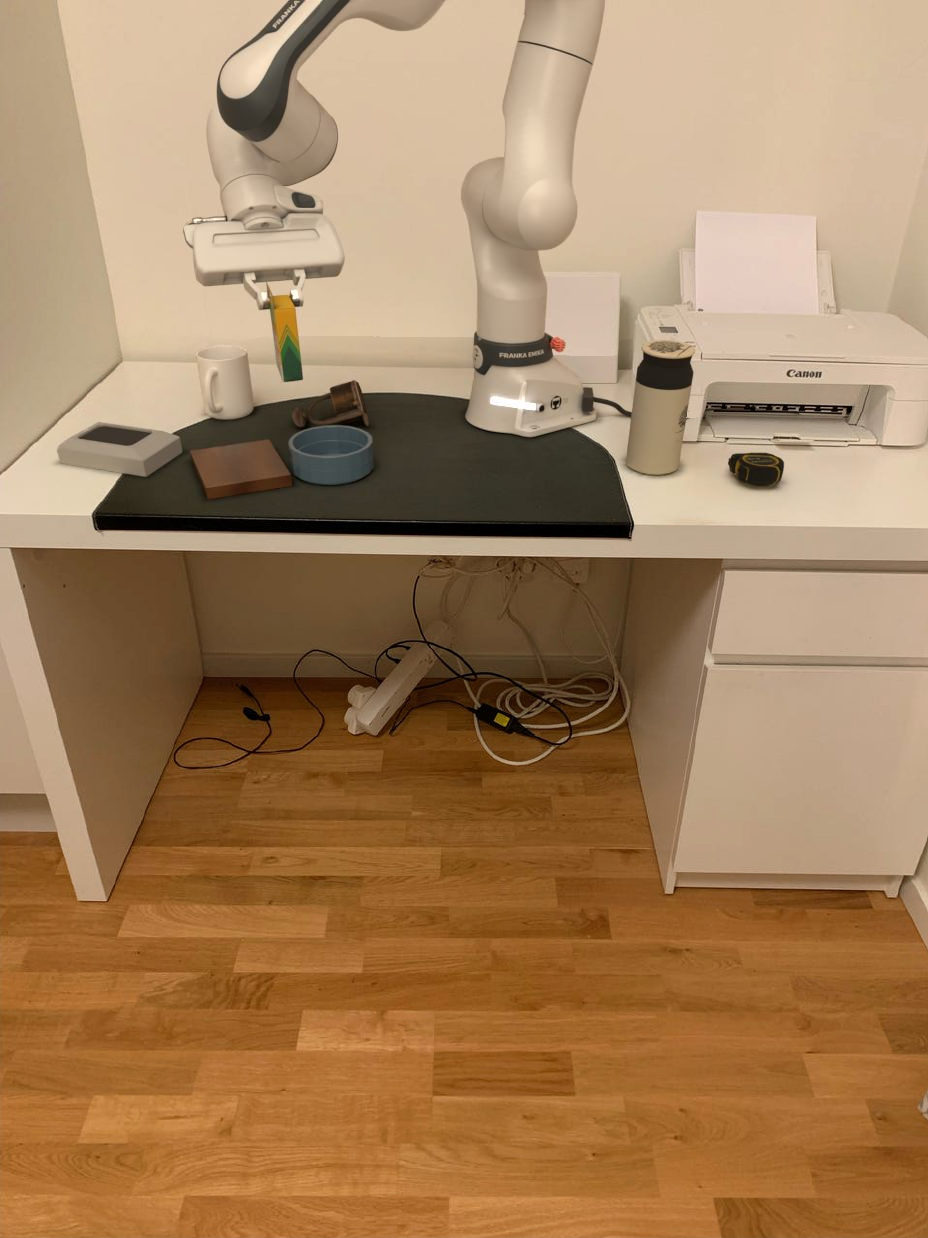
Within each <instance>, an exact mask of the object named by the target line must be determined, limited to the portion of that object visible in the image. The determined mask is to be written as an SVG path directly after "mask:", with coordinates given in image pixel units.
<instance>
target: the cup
mask: <svg viewBox="0 0 928 1238" xmlns="http://www.w3.org/2000/svg"><path fill="white" fill-rule="evenodd" d="M195 359H196V364H197V371H198V379H199V384H200V389H201V395H202V402H203V407H204V411H205V413H206V415H207V416H208V417H211V418H212V419H216V420H236V419H242V418H244V417H248V416H249V415H251V414H252V413H253V411H254V409H255V401H254V395H253V386H252V378H251V370H250V361H249V355H248V350H247V349H246V348H244V347H242V346H238V345H234V344H233V345H232V344H222V345H219V344H218V345H211V346H207V347H204V348H201V349H199V350H198V351H197V352H196V353H195Z"/></svg>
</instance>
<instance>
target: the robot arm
mask: <svg viewBox="0 0 928 1238" xmlns="http://www.w3.org/2000/svg"><path fill="white" fill-rule="evenodd" d="M445 2H446V0H288V1H286V3H285V4H283V6H282V7H281V8H280V9H279V10H278V11H277V12H276V13H275V14H274V16H273V17H272V18H271V19H270V20H269V22H267V23H266V25H264V27H263V28H262V29H260V31H259V32H258V33H257V34H256V35H255V36H253V37H252V38H251V39H250V40H248V41H247V42H246V43H244V44H243V45H242V46H240V47H239V48H238V49H237V50H235V51H234V52H232V54H230V55H229V57H227V59H226V60H225V61H224V63H223V64H222V65H221V68H220V70H219V72H218V76H217V81H216V102H215V104H214V105H213V106H212V107H211V109H210V111H209V113H208V116H207V120H206V128H205V129H206V130H205V132H206V133H205V134H206V144H207V150H208V155H209V159H210V164H211V168H212V173H213V175H214V178H215V180H216V182H217V183H218V185H219V198H220V199H219V200H220V205H221V207H222V211H223V215H217V216H209V217H202V216H198V217H197V216H196V217H193V218H191V220H190V221H187V222H186V223H185V224H184V226H183V229H182V234H183V237H184V240H185V243H186V245H187V246H188V247H189V248H190V249H192V260H193V261H192V262H193V270H194V275H195V280H196V281H197V282H198V283H199V284H200V285H202V286H203V287H216V286H217V287H218V286H230V285H231V286H232V285H243V288H244V290H245V291H246V293H248V294H249V295H250V297H251V298H252V299H254V300H255V302H256V306H257V310H258V311H266V310H270V305H271V303H270V299H269V295H268V292H267V291H262V290H261V289H260V288H259V286H258V285H256V284H257V283H266V282H267V283H270V282H283V281H292V283H293V286H296V288H295V289H294V288H293V289H290V290H289V294H288V295H289V297H290V299H291V300H292V302H293V304H294V306H295V308H300V307H304V303H305V301H304V295H303V289H304V286H305V282H306V280H310V279H324V278H336V277H339V276H340V274H341V273H342V271H343V268H344V266H345V258H346V257H345V252H344V249H343V245H342V241H341V239H340V236H339V235H338V232H337V230H336V228H335V227H336V226H334V224H333V222H332V220H331V219H330V218H329V217H327V216H326V215H324V202H323V200H322V198H321V197H320V196H319V195H315V194H311V193H307V192H304V191H303V192H302V191H298V190H295V189H292V188H289V186H293V185H297V184H299V183H302V182H303V181H306V180H308V179H310V178H313V177H315V176H317V175H319V174H320V173H322V172H323V171H324V170H325V169H326V168H328V166H330V164H331V163H332V161H333V159H334V156H335V155H336V152H337V148H338V142H339V131H338V130H339V129H338V125H337V123H336V120H335V119H334V117H333V116H332V115H331V114H330V113H329V112H328V110H327V109H326V108H325V107H324V106H323V105H322V104H321V102H319V100H317V98H316V97H315V96H314V95H313V94H311V93H310V92H309V90H307V89H306V87H305V86H304V85H303V84H302V83H301V82H300V81H299V80H298V74H299V71H300V69H301V68H302V66H303V65H304V64H305V63H306V62H307V61H308V60H309V59H310V57H312V55H314V53H316V51H317V50H318V49H319V48H320V47H321V45H322V44H323V43H324V42H325V41H326V40H327V39H328V38H329V37H330V36H331V35H332V34H333V32H334V31H335V30H336V29H337V28H338V27H339V26H340V25H341V24H344V23H345V22H347V21H349V20H352V19H361V20H362V19H363V20H367V21H370V22H371V23H373V24H376V25H378V26H379V27H382V28H385V29H387V30H391V31H395V32H410V31H414V30H418V29H421V28H422V27H424V25H426V24H427V23H428V22H429V21H430V20H432V19H433V17H434V16H435V15H436V14H437V13H438V11H440V9H441V8H442V6H443V5H444V3H445ZM605 6H606V0H524V10H523V20H522V23H521V27H520V29H519V33H518V37H517V41H516V45H515V50H514V53H513V57H512V62H511V65H510V69H509V73H508V78H507V82H506V86H505V91H504V94H503V98H502V105H501V106H502V107H501V108H502V114H503V117H504V150H503V151H504V152H503V156H497V157H492V158H488V159H485V160H482V161H479V162H477V163H475V164H474V165H473V166H472V167H471V168H470V169H469V170H468V171H467V172H466V174H465V177H464V178H463V181H462V183H461V187H460V201H461V206H462V208H463V212H464V213H465V216H466V219H467V224H468V230H469V237H470V244H471V245H470V246H471V251H472V256H473V263H474V270H475V276H476V278H475V279H476V331H475V332H474V334H473V347H472V363H473V364H472V366H473V369H474V372H473V380H472V386H471V392H470V396H469V402H468V405H467V409H466V411H465V415H464V418H465V420H466V421H467V422H468V423H469V424H470V425H472V426H473V427H476V428H479V429H480V430H485V431H489V432H495V433H501V434H502V433H503V434H512V435H517V436H520V437H524V438H533V437H538V436H541V435H545V434H549V433H553V432H557V431H561V430H565V429H568V428H572V427H575V426H576V427H577V426H579V425H583V424H587V423H590V422H594V421H596V420H597V410H596V409H595V406H594V403H596V404H597V403H598V404H601V405H606V406H609V407H612V408H613V409H615V410H617V412H618V413H620V414H621V415H623V416H626V417H629V418H631V415H632V411H629V410H626V409H624V408H623V407H622V406H621V405H620V404H619V403H617V402H615V401H613V400H611V399H606V398H602V397H597V396H595V395H594V390H593V387H589V386H588V387H587V386H586V387H585V386H583V383H582V380H581V379H580V376H578V375H577V374H576V373H575V372H573V371H572V370H571V369H570V368H569V367H568V366H566V365H565V364H564V363H563V362H562V361H560V360H559V359H558V358H557V357H556V356H555V355H554V352H553V351H555V352H557V353H562V352H564V351H565V349H566V346H567V344H566V341H565V339H561V338H560V337H559V336H555V337H553V336H552V335H550V334H548V333H547V332H546V321H547V319H546V318H547V304H548V303H547V302H548V283H547V277H546V276H545V274H544V271H543V268H542V265H541V260H540V255H539V251H550V250H553V249H555V248H557V247H559V246H561V245H562V244H563V243H564V242H566V240H567V239H568V238H569V237H570V235H571V234H572V231H573V230H574V228H575V226H576V222H577V219H578V201H577V197H576V194H575V191H574V187H573V169H574V153H575V141H576V133H577V128H578V124H579V119H580V114H581V111H582V107H583V104H584V99H585V95H586V92H587V88H588V84H589V81H590V77H591V73H592V70H593V66H594V62H595V59H596V56H597V52H598V47H599V42H600V37H601V34H602V33H601V32H602V27H603V21H604V15H605V14H604V13H605Z"/></svg>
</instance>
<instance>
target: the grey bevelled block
mask: <svg viewBox="0 0 928 1238" xmlns="http://www.w3.org/2000/svg"><path fill="white" fill-rule="evenodd" d="M56 452H57V457H58V459H59V463H60V464H63V465H68V466H69V465H70V466H76V467H81V468H82V467H83V468H87V469H88V468H89V469H94V470H99V471H108V472H113V473H120V474H125V475H126V474H127V475H133V476H139V477H148V476H150V475H151V474H152V473H154V472H156V471H157V470H158V469H161V468H162V467H163V466H164V465H167V464H168V463H169V462H170V461H173V460H174V459H175V458H176V457H178V456H179V455H181V454H182V453H183V447H182V440H181V437H180V436H179V435H176V434H173V433H169V432H167V431H164V430H159V429H158V430H157V429H152V428H144V427H139V426H138V427H137V426H131V425H123V424H116V423H110V422H102V421H98V422H96V423H93V424H92V425H90V426H88V427H86V428H85V429H83V430H81V431H79V432H77V433H76V434H73V435H72V436H70V437H68V438H67V439H65V440H64V441H63V442H61V443H60V444H59V445H58V446H57V448H56Z"/></svg>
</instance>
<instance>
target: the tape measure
mask: <svg viewBox="0 0 928 1238" xmlns="http://www.w3.org/2000/svg"><path fill="white" fill-rule="evenodd" d="M727 466H728V469H729V471H730V473H731V474H734V475H735V477H736V479H737V480H738V481H740V482H741V483H744V484H746V485H750V486H755V487H771V486H775V485H777V484H779V483H780V482H781V480H782V478H783V474H784V469H785V462H784V460H783V459H782V458H781V457H779V456H777V455H775V454H773V453H769V452H743V453H741V452H740V453H739V452H738V453H732V454H731V455H730V457H729V458H728V462H727Z"/></svg>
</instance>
